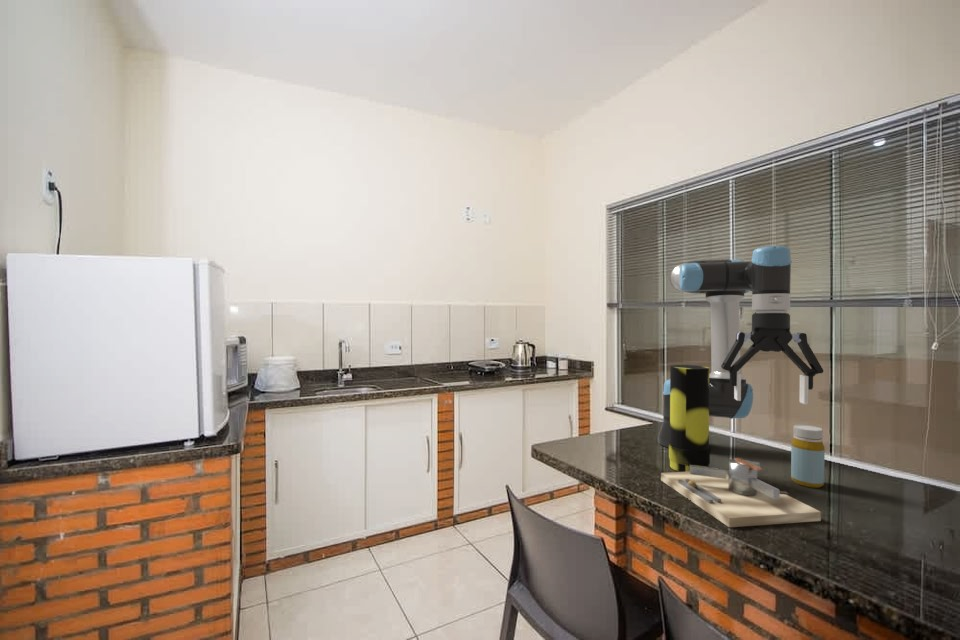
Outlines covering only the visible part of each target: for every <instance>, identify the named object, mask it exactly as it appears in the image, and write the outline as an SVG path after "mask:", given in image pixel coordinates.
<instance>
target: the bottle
mask: <svg viewBox="0 0 960 640" xmlns="http://www.w3.org/2000/svg"><path fill="white" fill-rule="evenodd" d="M823 433H824V432H823V428H821V427H819V426H814V425H808V424H795V425H793V439H792V441H791V444H790V445H791V446H790V447H791V450H790V452H791V454H790V455H791V456H790V459H791V461H790V463H791V464H790V476H791V477H790V478H791V480H792V482H794V483H795V484H798V485H800V486H803V487H806V488H812V489H813V488H815V489H817V488H822V487H823V486H824V485H825V455H826V454H825V446H824V443H823V437H824V436H823Z"/></svg>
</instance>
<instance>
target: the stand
mask: <svg viewBox="0 0 960 640" xmlns="http://www.w3.org/2000/svg"><path fill="white" fill-rule="evenodd" d="M660 481H661V482H662V483H664V484H666V485H667V486H669V487H670V488H671V489H673V490H675V491H676V492H677V493H679V494H680V495H682V497H685V498H686V499H687V498H688V499H687V500H689V501H690V500H691V501H690V502H692V503H693V504H695V505H696V506H697V507H699V508H700V509H702V510H703V511H705V512H706V513H708V514H709V515H711V516H712V517H713V518H715V519H717V521H720V522H721V523H722V524H724V525H725V526H727V527H728V528H738V527H753V526H754V527H755V526H769V525H782V524H783V525H784V524H794V523H795V524H796V523H809V522H822V521H821V520H822V511H820V510H819V509H816V508H814V507H812V506H811V505H808V504H807V503H804V502H802V501H800V500H799V499H796V498H794V497H792V496H790V495H789V492H787V491H780V494H779V499H773V498H771V497H769V496H767V495H765V494H763V493H761V492H759V491H758V490H757V495H754V496H746V495H740V494H737V493H734V492H732V491H730V490H729V489H728V469H726V479H723V478H715V477H708V476H700V475H692V474H690V471H688V472H678V471H674V472H673V471H671V472H660Z"/></svg>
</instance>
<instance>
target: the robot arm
mask: <svg viewBox="0 0 960 640" xmlns="http://www.w3.org/2000/svg"><path fill="white" fill-rule="evenodd" d="M791 265H792V259H791V249H790V247H788V246H783V245H772V246H771V245H770V246H764V247H758V248H755V249H754V250H753V251H752V256H751V260H749V261H744V260H742V259H730V258H728V259H710V260H709V259H708V260H707V259H706V260H692V261H685V262H683V263H680V264H678V265H676V266H675V267H674V268H673V269H672V270H671V272H670V274H669V281H670V284H671V286H673V288H674V289H675V290H677V291H680V292H682V293H683V292H684V293H688V294H700V295H701V294H705V300H706V301H707V302H708V303H709V304H710V346H711V347H710V351H711V352H710V354H711V355H710V356H711V359H710V361H711V371H710V372H709V418H724V419H726V418H727V419H731V420H733V419H746V418H747V417H748V416H749V414H750V413H751V410H752V406H753V403H754V390H753V386H752V385H751V384H749V383H748V382H747V378H746V377H745V376H744V375H743V374H742V372H741V369H742V368H744V365H746V364H747V363H748V362H749V361H750V360H752V358H753V357H754V356H755V355H756V354H757V353H759V352H775V353H776V352H777V353H780V352H782V353H783V354H784V355H786V356H787V357H788V358H789V360H790V361H791V362H792V363H793V364H794V365H795V366H796V367H797V368H798V369H799V370H800V372H802V373H803V374H799V393H798V394H799V399H798V400H799V403H800V404H802V405H809V390H811V391H812V390H813V388H814V377H815V376H816V375H819V374H823V373H824V369H823V367H822V365H821V363H820V362H819V360H818V358H817V356H816V355H815V352H814V351H813V350H812V348H811V346H810V344H809V343H808V335H807V334H806V333H805V332H797V333H791V314H790V313H788V312H789V311H790V310H791V274H792V273H791V269H792V268H791V267H792V266H791ZM749 292H751V310H752V311H753V312H754V313H752V314H751V331H750V333H747V332H746V333H745V332H742V331H741V330H740V327H741V325H740V323H741V322H740V321H741V319H740V302H741V301H742V300H744V298H745V294H747V293H749ZM748 340H751V342H752V345H750V347H748V349H747V350H746V351H745V352H744V353H743V354H742V355H741V349H742V347H743V345H744V343H746V342H747V341H748ZM792 340H793V341H794V342H795V343H797V346H798V347H799V349H800V351H801V353H802V355H803V356H804V358H805V360H806V361H807V363H808V365H807V363H805V361H803V359H802V358H801V357H800V356H799V355H798V354H797V353H796V352H795V351H794V349H793V348H792V347H791V346H790V345H789V343H790V342H791V341H792ZM662 394H663V408H662V409H663V412H662V413H663V419H662V423H661V425H660V428H659V432H658V434H657V442H658V444H659V445H661V446H663V447H666V448H668V449H669V442H670V378H669V379H667V380H665V381H664V383H663V392H662Z"/></svg>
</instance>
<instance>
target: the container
mask: <svg viewBox="0 0 960 640" xmlns="http://www.w3.org/2000/svg"><path fill="white" fill-rule="evenodd" d="M669 367H670V370H669V371H670V372H669V373H670V375H669V377H670V378H669V379H670V442H669V448H668V459H669V467H670V468H671V469H672V470H674V472H688V471H690V465H697V466H705V467H710V464H711V448H710V417H709V374H710V367H708V366H704V365H692V364H673V365H670V366H669Z"/></svg>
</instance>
